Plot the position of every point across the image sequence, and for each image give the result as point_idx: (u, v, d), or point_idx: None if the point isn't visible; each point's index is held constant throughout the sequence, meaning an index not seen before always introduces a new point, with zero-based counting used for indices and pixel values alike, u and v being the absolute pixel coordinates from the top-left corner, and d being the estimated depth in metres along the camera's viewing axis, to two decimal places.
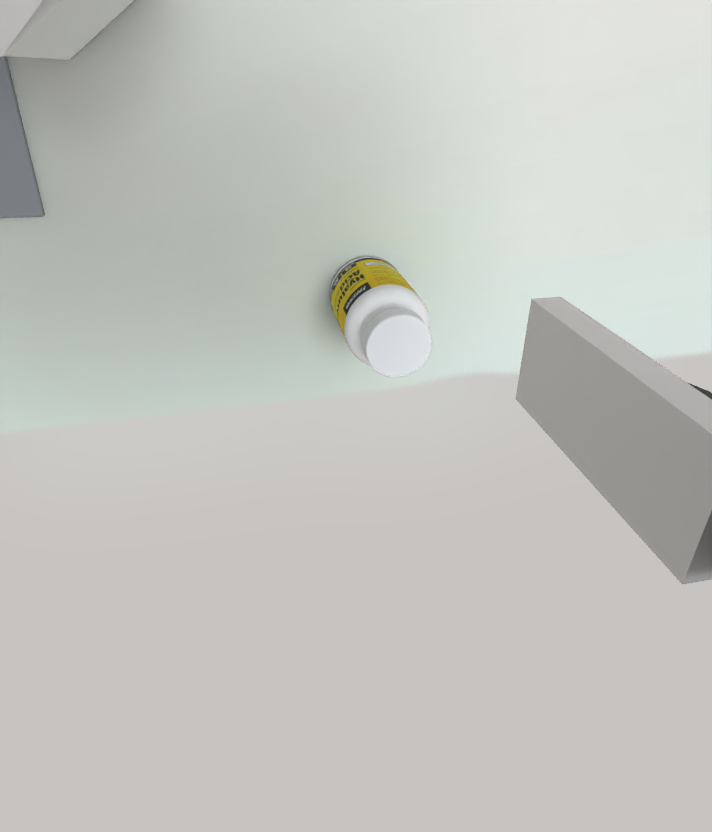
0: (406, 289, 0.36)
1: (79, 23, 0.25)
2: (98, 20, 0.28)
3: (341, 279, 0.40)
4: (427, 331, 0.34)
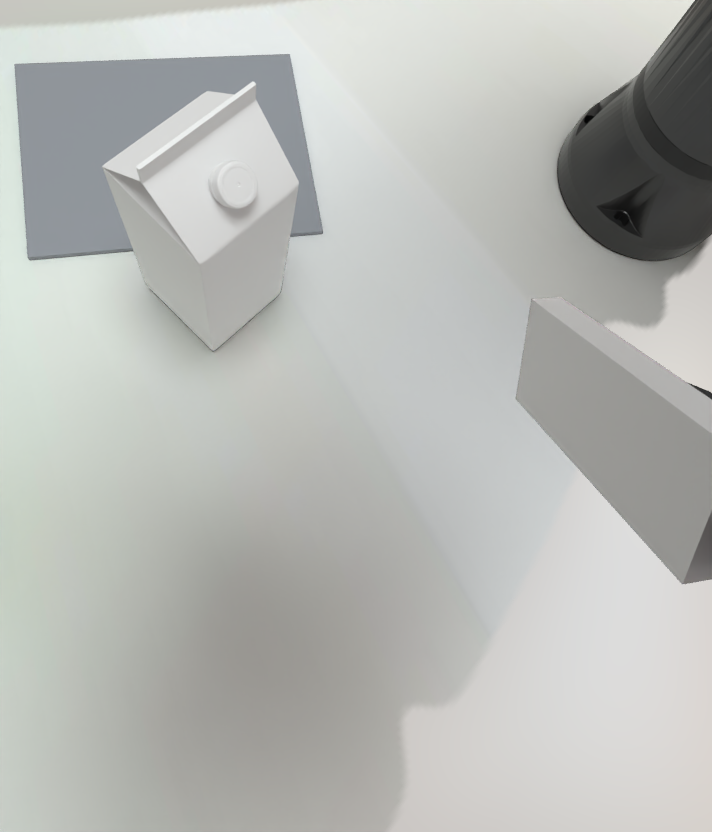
0: None
1: (152, 259, 0.37)
2: (165, 288, 0.40)
3: None
4: None
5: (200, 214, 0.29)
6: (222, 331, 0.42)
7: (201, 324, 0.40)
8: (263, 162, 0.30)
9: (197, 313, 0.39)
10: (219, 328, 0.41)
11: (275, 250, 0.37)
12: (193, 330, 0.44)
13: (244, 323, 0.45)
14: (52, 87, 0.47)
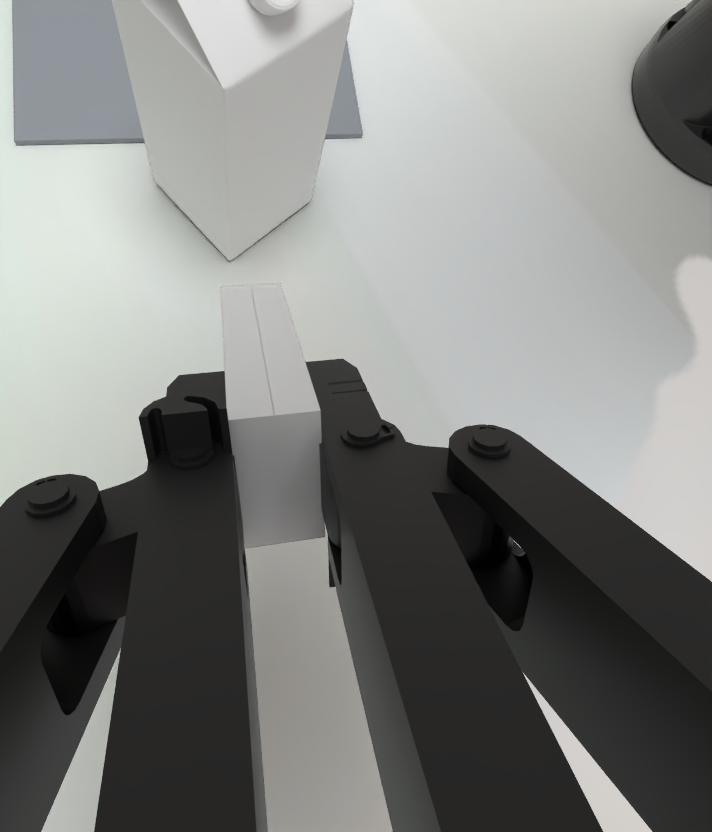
0: None
1: (162, 120, 0.30)
2: (176, 170, 0.33)
3: None
4: None
5: (227, 17, 0.22)
6: (242, 231, 0.35)
7: (217, 216, 0.33)
8: None
9: (214, 197, 0.31)
10: (239, 224, 0.34)
11: (314, 118, 0.30)
12: (207, 234, 0.37)
13: (267, 231, 0.38)
14: None
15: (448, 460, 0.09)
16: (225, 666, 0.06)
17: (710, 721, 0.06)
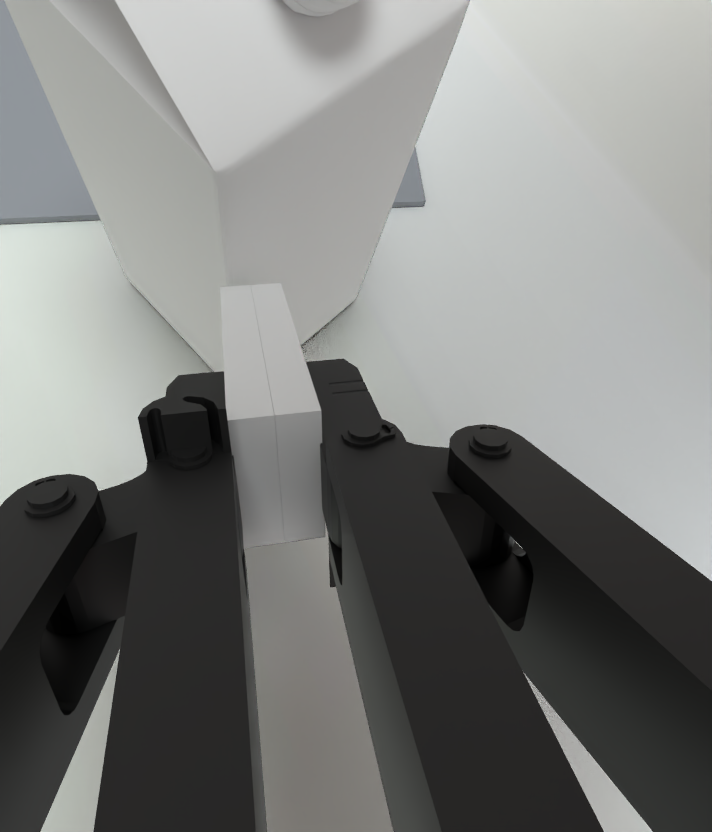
0: None
1: (121, 207, 0.18)
2: (152, 276, 0.21)
3: None
4: None
5: (223, 20, 0.10)
6: None
7: (218, 347, 0.21)
8: None
9: (210, 324, 0.19)
10: None
11: (376, 197, 0.18)
12: (204, 358, 0.24)
13: None
14: None
15: (449, 460, 0.09)
16: (225, 667, 0.06)
17: (711, 721, 0.06)
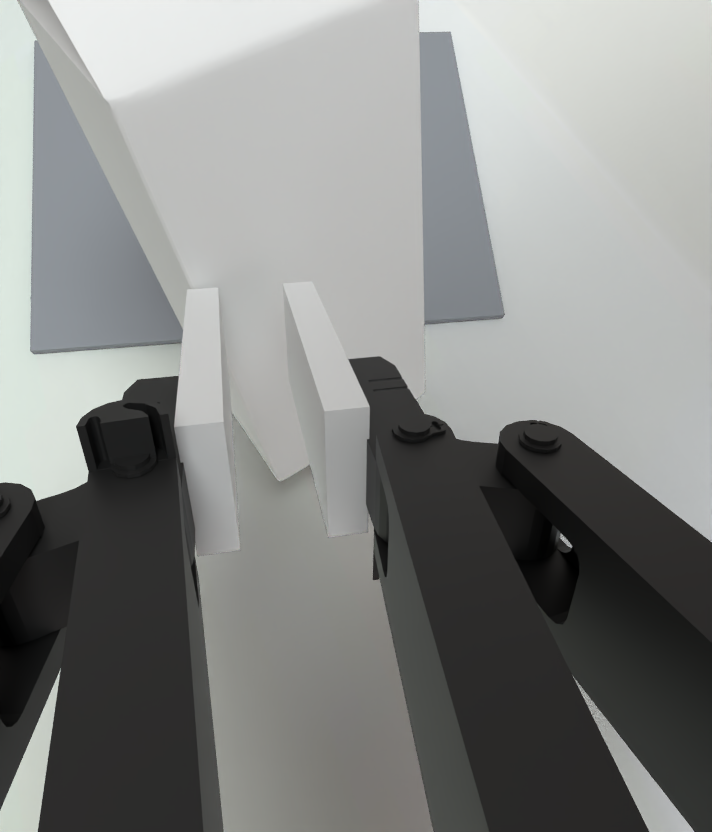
0: None
1: (154, 258, 0.19)
2: None
3: None
4: None
5: None
6: (287, 432, 0.21)
7: (239, 404, 0.20)
8: None
9: None
10: (275, 418, 0.20)
11: (387, 233, 0.17)
12: (251, 440, 0.24)
13: None
14: None
15: (497, 453, 0.09)
16: (171, 675, 0.06)
17: None
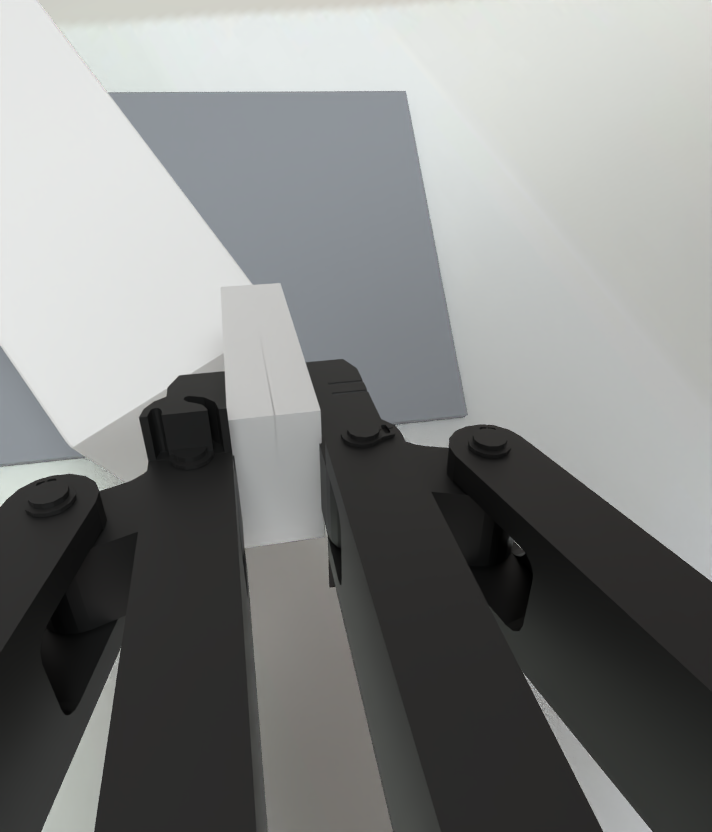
0: None
1: None
2: None
3: None
4: None
5: None
6: (50, 352, 0.17)
7: None
8: None
9: None
10: (23, 328, 0.17)
11: (84, 126, 0.19)
12: None
13: (162, 378, 0.17)
14: None
15: (448, 460, 0.09)
16: (225, 667, 0.06)
17: (710, 721, 0.06)
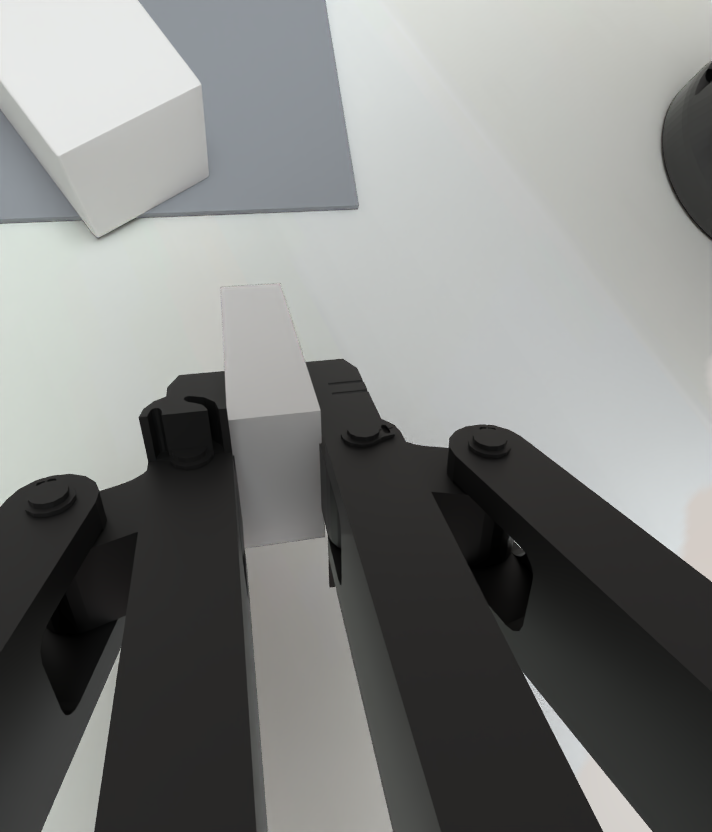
0: None
1: None
2: (29, 139, 0.29)
3: None
4: None
5: None
6: (40, 94, 0.25)
7: (3, 89, 0.26)
8: None
9: None
10: (21, 77, 0.25)
11: None
12: (62, 173, 0.27)
13: (120, 116, 0.25)
14: None
15: (448, 460, 0.09)
16: (225, 668, 0.06)
17: (710, 721, 0.06)
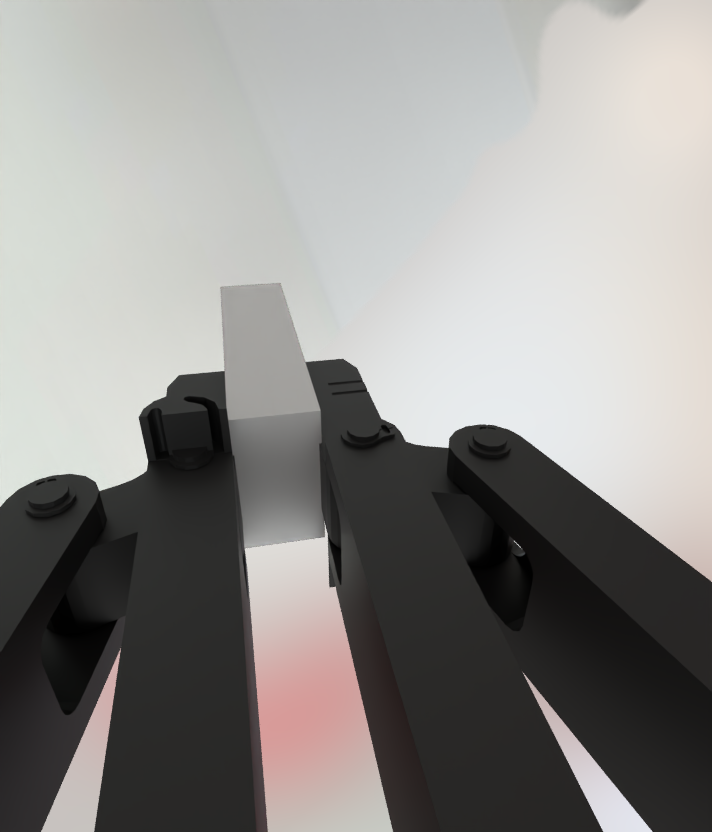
0: None
1: None
2: None
3: None
4: None
5: None
6: None
7: None
8: None
9: None
10: None
11: None
12: None
13: None
14: None
15: (448, 460, 0.09)
16: (225, 667, 0.06)
17: (710, 721, 0.06)
